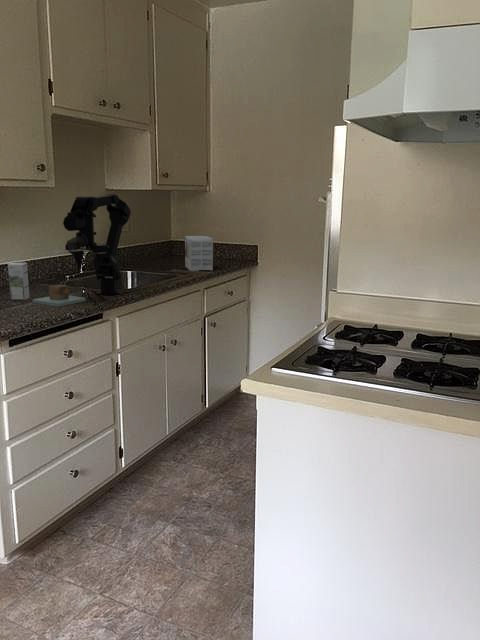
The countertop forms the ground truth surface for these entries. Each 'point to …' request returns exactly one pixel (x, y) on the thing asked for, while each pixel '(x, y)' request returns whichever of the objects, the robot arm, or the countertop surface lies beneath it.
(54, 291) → the walnut cube
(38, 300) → the plate
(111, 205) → the robot arm
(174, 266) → the countertop surface
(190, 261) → the supplement box
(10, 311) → the countertop surface
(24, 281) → the syrup box
